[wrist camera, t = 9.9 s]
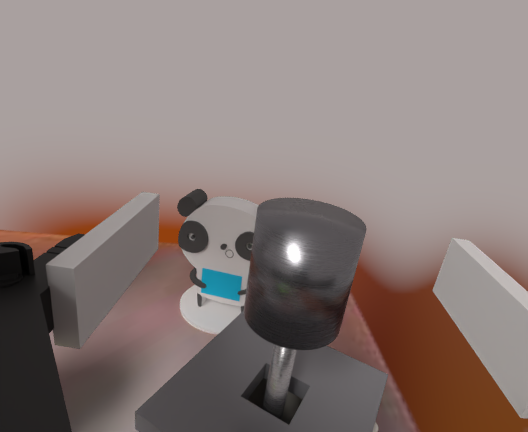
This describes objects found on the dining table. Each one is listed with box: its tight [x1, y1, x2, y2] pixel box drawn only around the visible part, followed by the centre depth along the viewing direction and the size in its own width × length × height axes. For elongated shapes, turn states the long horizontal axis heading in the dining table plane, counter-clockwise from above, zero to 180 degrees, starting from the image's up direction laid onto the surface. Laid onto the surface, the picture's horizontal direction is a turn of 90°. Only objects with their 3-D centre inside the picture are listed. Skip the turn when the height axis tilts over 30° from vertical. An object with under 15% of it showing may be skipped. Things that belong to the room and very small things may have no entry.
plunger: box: [244, 198, 366, 420], centre depth 16 cm, size 4×4×17 cm
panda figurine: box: [177, 189, 259, 335], centre depth 44 cm, size 12×11×15 cm
